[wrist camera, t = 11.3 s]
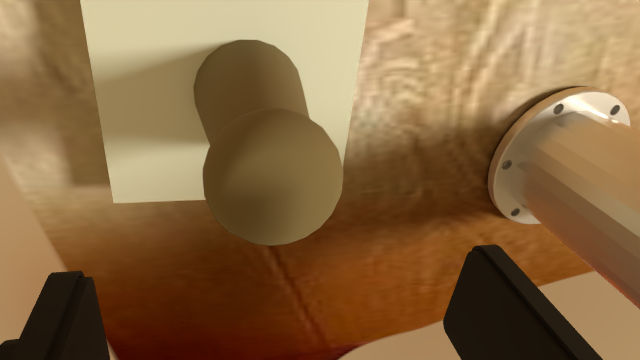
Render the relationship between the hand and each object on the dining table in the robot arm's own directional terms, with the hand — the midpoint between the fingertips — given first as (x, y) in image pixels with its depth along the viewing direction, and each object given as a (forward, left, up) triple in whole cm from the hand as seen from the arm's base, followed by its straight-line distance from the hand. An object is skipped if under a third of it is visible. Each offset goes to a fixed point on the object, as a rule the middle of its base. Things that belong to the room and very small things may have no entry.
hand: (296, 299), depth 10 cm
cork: (0, 0, -16) cm, 16 cm away
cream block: (0, 0, -18) cm, 18 cm away
